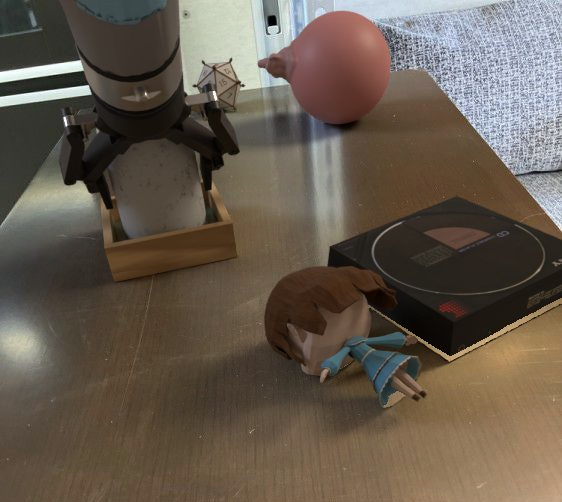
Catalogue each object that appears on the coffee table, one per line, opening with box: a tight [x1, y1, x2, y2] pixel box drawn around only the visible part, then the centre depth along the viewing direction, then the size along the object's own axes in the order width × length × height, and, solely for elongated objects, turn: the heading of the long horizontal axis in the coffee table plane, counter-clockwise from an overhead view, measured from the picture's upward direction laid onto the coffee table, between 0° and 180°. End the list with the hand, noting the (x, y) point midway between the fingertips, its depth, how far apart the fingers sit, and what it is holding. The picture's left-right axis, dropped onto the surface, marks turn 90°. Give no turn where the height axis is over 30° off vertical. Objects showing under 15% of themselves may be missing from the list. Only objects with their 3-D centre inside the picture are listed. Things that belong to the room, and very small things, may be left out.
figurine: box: [263, 265, 428, 409], centre depth 48 cm, size 11×10×15 cm
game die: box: [191, 57, 246, 112], centre depth 107 cm, size 9×8×10 cm
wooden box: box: [99, 178, 239, 283], centre depth 71 cm, size 13×13×4 cm
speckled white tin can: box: [95, 114, 209, 240], centre depth 67 cm, size 10×10×12 cm
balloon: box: [257, 10, 392, 125], centre depth 95 cm, size 15×20×15 cm
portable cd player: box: [326, 195, 562, 356], centre depth 58 cm, size 16×17×4 cm
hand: (157, 188), depth 71 cm, fingers open, 11 cm apart
